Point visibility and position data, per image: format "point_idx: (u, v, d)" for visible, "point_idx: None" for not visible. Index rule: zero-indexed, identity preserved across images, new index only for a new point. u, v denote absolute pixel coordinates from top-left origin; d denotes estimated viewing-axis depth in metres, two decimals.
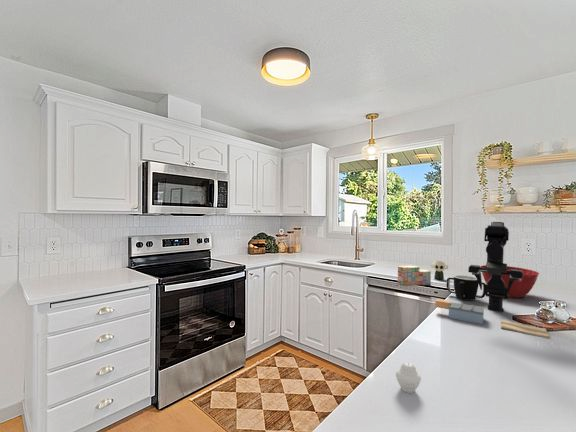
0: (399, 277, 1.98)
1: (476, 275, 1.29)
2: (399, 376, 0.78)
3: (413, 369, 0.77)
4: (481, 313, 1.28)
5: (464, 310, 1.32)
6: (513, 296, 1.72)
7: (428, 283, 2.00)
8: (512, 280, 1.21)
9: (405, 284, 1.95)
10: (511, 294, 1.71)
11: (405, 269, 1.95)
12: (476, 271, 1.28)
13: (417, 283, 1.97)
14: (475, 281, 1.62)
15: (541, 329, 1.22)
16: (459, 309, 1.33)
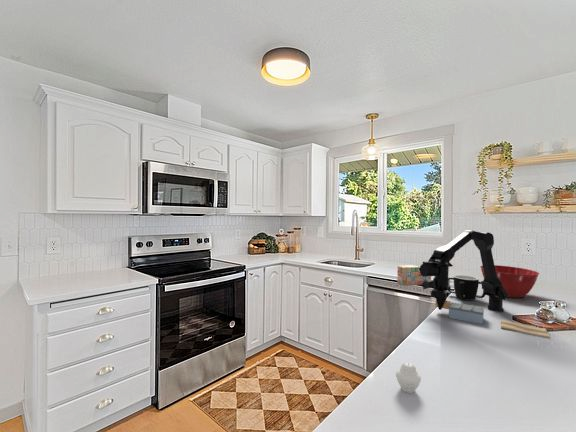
0: (399, 277, 1.99)
1: None
2: (399, 376, 0.78)
3: (413, 369, 0.77)
4: (481, 313, 1.28)
5: (464, 310, 1.32)
6: (513, 296, 1.72)
7: None
8: None
9: (404, 284, 1.96)
10: (511, 294, 1.71)
11: (404, 269, 1.96)
12: None
13: (417, 283, 1.98)
14: (475, 281, 1.62)
15: (541, 329, 1.22)
16: (459, 309, 1.33)
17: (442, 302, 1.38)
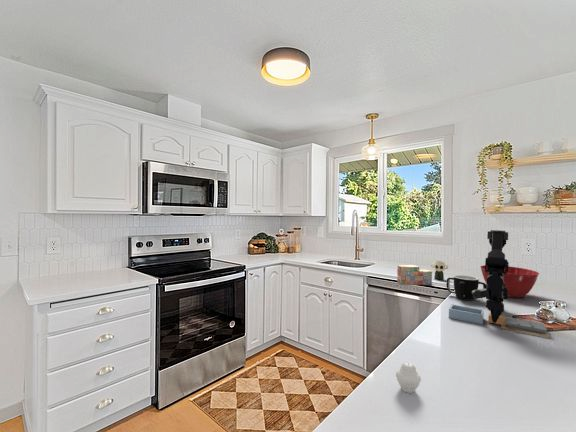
0: (398, 276, 2.02)
1: None
2: (399, 376, 0.78)
3: (413, 369, 0.77)
4: (544, 331, 1.16)
5: (524, 327, 1.20)
6: (513, 296, 1.72)
7: (429, 283, 1.99)
8: None
9: (403, 283, 1.98)
10: (511, 294, 1.71)
11: (403, 268, 1.98)
12: None
13: (417, 283, 1.99)
14: (475, 281, 1.62)
15: None
16: (518, 325, 1.21)
17: (497, 315, 1.25)
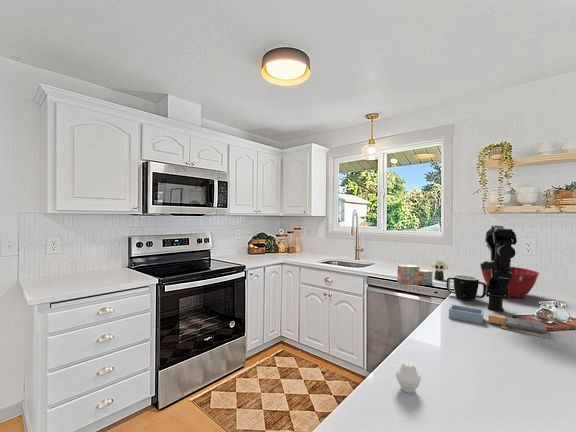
0: (398, 276, 2.03)
1: None
2: (399, 376, 0.78)
3: (413, 369, 0.77)
4: (544, 331, 1.16)
5: (524, 327, 1.20)
6: (513, 296, 1.72)
7: (429, 283, 1.99)
8: (496, 278, 1.31)
9: (403, 283, 1.99)
10: (511, 294, 1.71)
11: (403, 268, 1.99)
12: (494, 269, 1.42)
13: (417, 282, 1.99)
14: (475, 281, 1.62)
15: None
16: (518, 325, 1.21)
17: (505, 284, 1.30)
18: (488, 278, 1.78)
